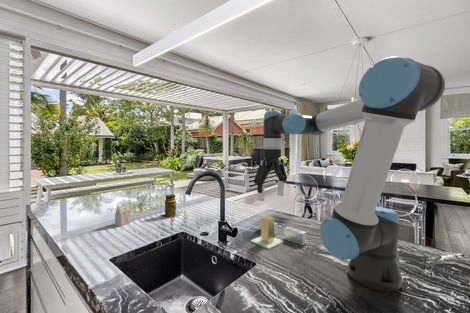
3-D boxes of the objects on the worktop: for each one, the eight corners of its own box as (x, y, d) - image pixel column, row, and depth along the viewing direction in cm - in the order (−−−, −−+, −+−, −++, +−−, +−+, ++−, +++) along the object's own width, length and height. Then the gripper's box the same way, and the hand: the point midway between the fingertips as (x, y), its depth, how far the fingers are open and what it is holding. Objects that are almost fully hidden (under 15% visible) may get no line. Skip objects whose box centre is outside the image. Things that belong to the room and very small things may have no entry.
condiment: (178, 216, 136) (178, 195, 135) (163, 219, 131) (163, 197, 130) (173, 213, 142) (173, 193, 141) (159, 215, 137) (159, 195, 136)
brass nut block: (273, 240, 103) (274, 218, 102) (268, 243, 100) (268, 220, 99) (266, 238, 106) (267, 216, 105) (260, 240, 103) (261, 217, 102)
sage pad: (283, 242, 102) (283, 241, 102) (269, 249, 96) (269, 248, 96) (265, 235, 110) (265, 234, 110) (250, 241, 103) (250, 240, 103)
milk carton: (115, 225, 119) (114, 206, 119) (125, 221, 126) (125, 203, 125) (120, 226, 118) (120, 207, 118) (130, 222, 125) (130, 203, 124)
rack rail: (306, 243, 102) (306, 232, 101) (302, 245, 100) (302, 234, 99) (263, 228, 119) (263, 218, 119) (259, 229, 117) (259, 219, 117)
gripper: (281, 148, 112) (280, 192, 113) (245, 148, 95) (244, 201, 96) (295, 148, 107) (294, 195, 108) (259, 149, 89) (258, 204, 91)
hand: (271, 198), depth 102 cm, fingers open, 13 cm apart
